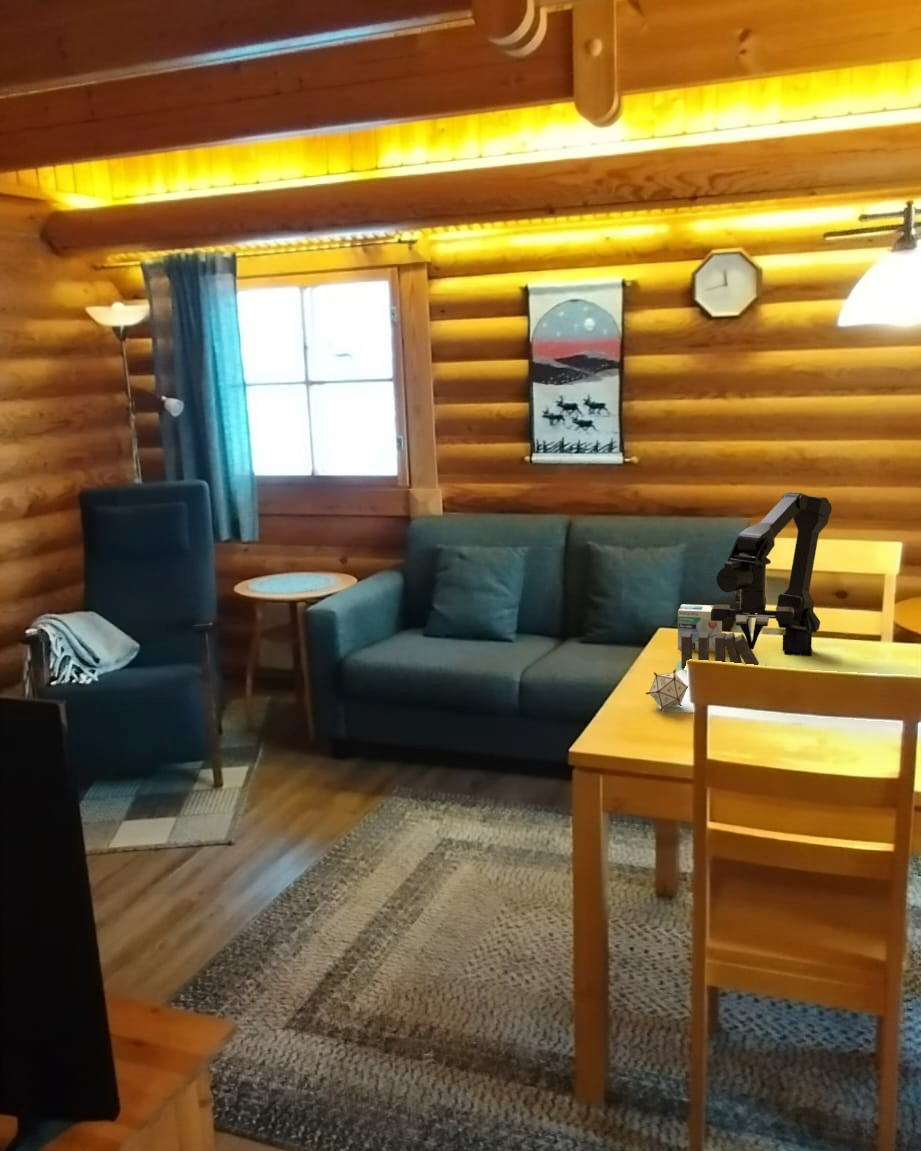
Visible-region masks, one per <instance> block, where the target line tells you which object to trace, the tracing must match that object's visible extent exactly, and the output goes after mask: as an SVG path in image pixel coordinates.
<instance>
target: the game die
mask: <svg viewBox="0 0 921 1151" xmlns="http://www.w3.org/2000/svg"><path fill="white" fill-rule="evenodd" d="M676 672H677V671H676V670H675V669H673V671H672V672H669V673H668V672H667V673H662V674H657V672H653V675H654V676H655V677H654V679H653V682H652V685H651V687H650V690H649V692H648V691H647V692H645V695H650V696H651V697H652V698H653V700H654V701H655V702H656V703H657V704H658V705H659V706H660V712H663V710H664V708H670V707H676V706H679V707H680V706H682V707H683V704H682V702H683V700H684V697H685V694H686V692H687V689H689V688H688V686H689V685H686V683H685V682H684V681H683V680H682V679H681V677H679V676H678V675H677V673H676Z"/></svg>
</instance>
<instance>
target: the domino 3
mask: <svg viewBox="0 0 921 1151" xmlns="http://www.w3.org/2000/svg"><path fill="white" fill-rule="evenodd" d="M725 634H727V633H726V632H722V633H717V634H716V637H715V651H714V654H715V656H714V657H715V658H714V660H715V661H722V662H726V660H727V659H726V656H727V655H726V654H727V653H726V652H727V649H726V646H725V642H724V638H725ZM715 661H714V662H715Z"/></svg>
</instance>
